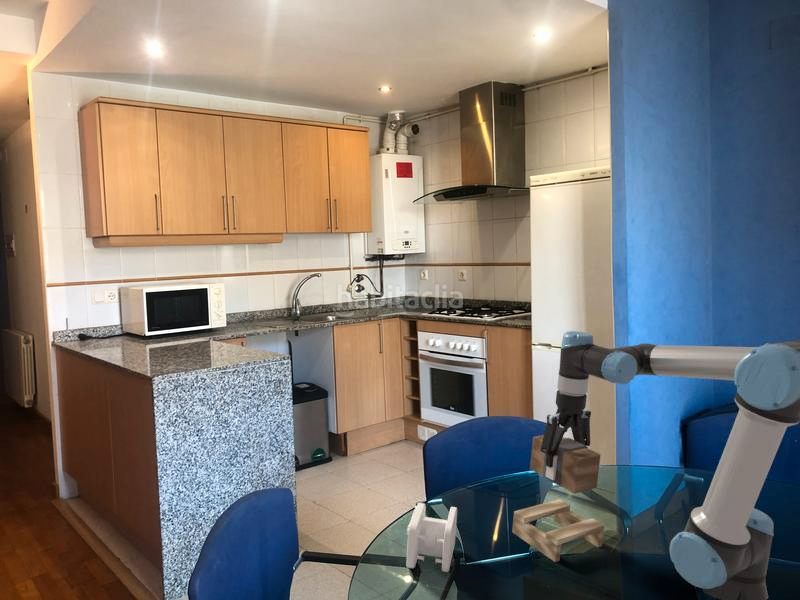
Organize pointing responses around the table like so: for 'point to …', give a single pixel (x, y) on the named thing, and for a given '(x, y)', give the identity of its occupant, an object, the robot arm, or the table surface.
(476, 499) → the table surface
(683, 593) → the table surface
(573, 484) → the wooden block with band
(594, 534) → the wooden bar frame
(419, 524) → the cable organizer
